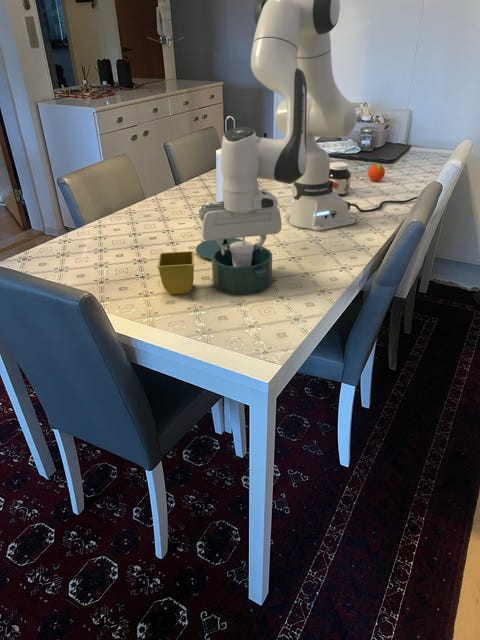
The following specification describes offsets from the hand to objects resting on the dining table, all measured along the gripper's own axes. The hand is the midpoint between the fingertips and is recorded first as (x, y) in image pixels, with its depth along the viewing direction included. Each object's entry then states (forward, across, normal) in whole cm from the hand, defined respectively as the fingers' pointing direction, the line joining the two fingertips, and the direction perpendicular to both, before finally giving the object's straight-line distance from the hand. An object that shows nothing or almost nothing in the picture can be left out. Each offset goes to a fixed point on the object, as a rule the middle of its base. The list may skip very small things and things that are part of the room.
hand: (241, 252), depth 127 cm
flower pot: (+8, -17, -1) cm, 19 cm away
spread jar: (+8, +53, +67) cm, 86 cm away
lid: (+8, -1, +21) cm, 23 cm away
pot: (+8, 0, 0) cm, 8 cm away
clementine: (+8, +76, +77) cm, 109 cm away
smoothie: (+8, 0, 0) cm, 8 cm away
